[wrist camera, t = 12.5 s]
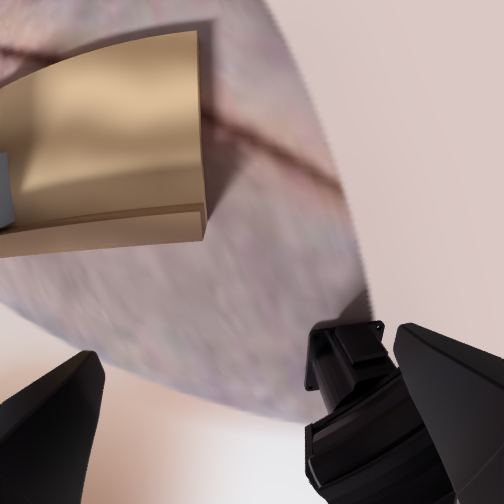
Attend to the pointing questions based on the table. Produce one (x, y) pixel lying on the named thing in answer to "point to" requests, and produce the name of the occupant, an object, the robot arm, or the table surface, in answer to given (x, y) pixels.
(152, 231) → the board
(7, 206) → the block
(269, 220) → the table surface
